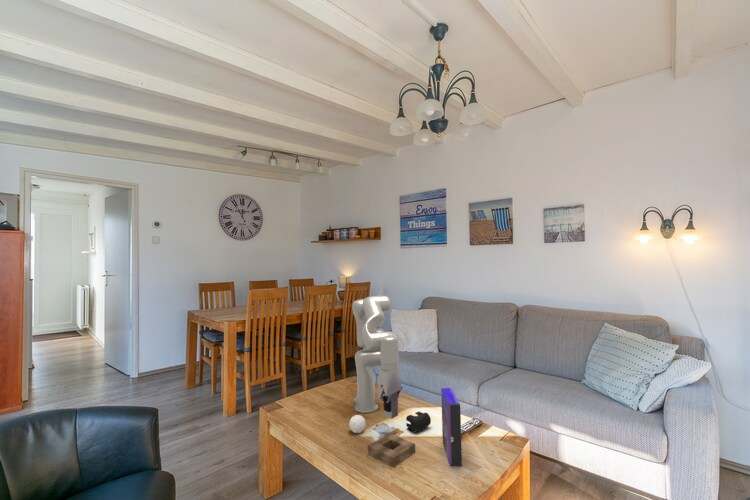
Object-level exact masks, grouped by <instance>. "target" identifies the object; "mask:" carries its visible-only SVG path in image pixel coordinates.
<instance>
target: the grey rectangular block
mask: <svg viewBox="0 0 750 500" xmlns="http://www.w3.org/2000/svg"><path fill="white" fill-rule="evenodd" d="M386 398H387V396H386ZM398 401H399V398H398V399H397V392H395V393H393V394H391V395H390V398H389V402H390V412H387V411H384V410H383V412H384V415H383V416H384V417H386V418H389V419H391V420H392V419H394V418H396V417H399V405H398V404H399V402H398Z"/></svg>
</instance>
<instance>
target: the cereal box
mask: <svg viewBox="0 0 750 500" xmlns="http://www.w3.org/2000/svg"><path fill="white" fill-rule="evenodd" d="M440 391H441V392H440V393H441V424H442V426H441V431H442V434H441V435H442V444H443V449H444V452H445V455H446V458H447V461H448V466H449V467H463V462H462V461H463V459H462V458H463V457H462V456H463V455H462V454H463V452H462V424H461V423H462V422H461V421H462V419H461V417H462V416H461V415H462V414H461V404H460V402H459V400H458V398H457V396H456V394H455V392H454V389H453V388H451V387H443V388H440Z"/></svg>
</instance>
